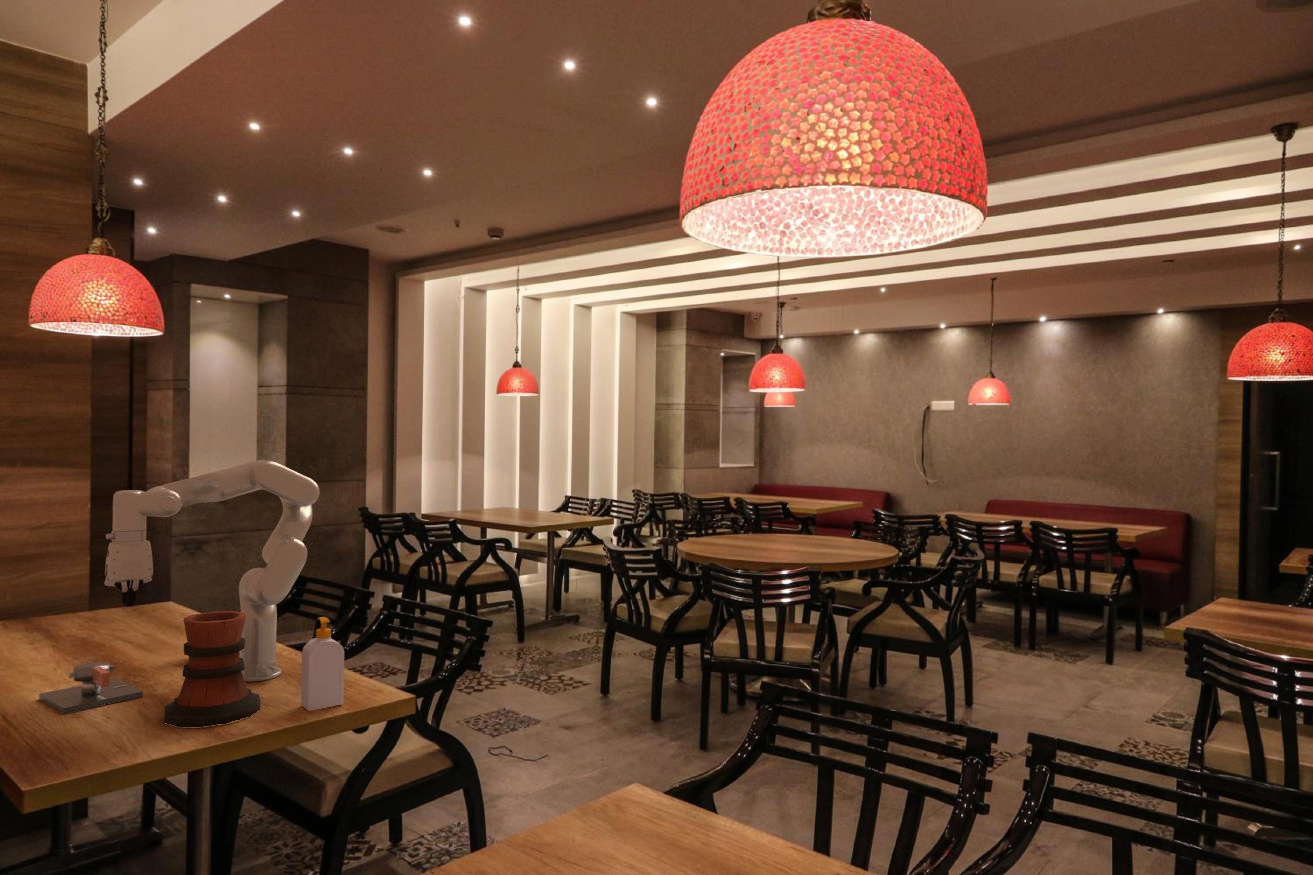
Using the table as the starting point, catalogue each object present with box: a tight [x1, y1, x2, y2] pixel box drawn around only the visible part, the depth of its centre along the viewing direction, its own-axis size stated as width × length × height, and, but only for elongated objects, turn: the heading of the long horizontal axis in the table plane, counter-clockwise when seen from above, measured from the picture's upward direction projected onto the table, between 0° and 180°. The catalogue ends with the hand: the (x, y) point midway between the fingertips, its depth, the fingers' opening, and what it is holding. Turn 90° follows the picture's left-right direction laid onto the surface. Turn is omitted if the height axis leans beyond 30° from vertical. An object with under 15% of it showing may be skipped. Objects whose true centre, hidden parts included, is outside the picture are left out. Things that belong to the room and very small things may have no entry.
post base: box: [38, 678, 144, 715], centre depth 215 cm, size 18×18×5 cm
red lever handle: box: [67, 661, 116, 687], centre depth 212 cm, size 16×10×4 cm, turn 49°
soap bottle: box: [300, 616, 345, 711], centre depth 213 cm, size 9×7×23 cm
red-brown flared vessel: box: [163, 610, 261, 727], centre depth 207 cm, size 22×25×25 cm
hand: (128, 605), depth 214 cm, fingers closed
